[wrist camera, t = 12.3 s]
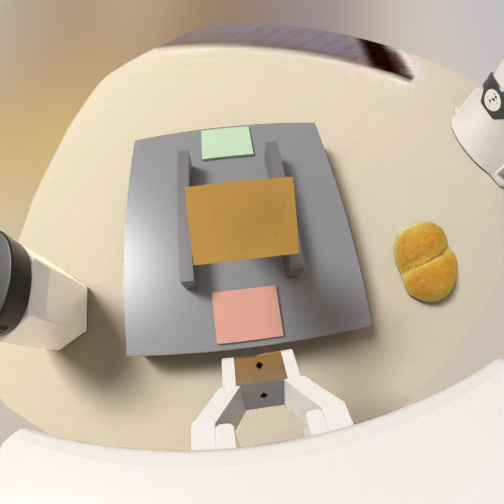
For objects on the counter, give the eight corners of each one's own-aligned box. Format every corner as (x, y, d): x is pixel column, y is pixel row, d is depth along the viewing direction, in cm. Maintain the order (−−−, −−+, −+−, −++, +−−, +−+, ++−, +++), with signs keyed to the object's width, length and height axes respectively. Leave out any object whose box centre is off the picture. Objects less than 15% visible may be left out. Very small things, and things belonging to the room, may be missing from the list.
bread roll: (411, 314, 26) (432, 308, 22) (380, 239, 29) (397, 223, 25) (457, 287, 27) (478, 278, 23) (429, 221, 30) (446, 206, 26)
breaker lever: (260, 186, 24) (299, 176, 11) (264, 223, 25) (305, 252, 12) (203, 193, 24) (177, 188, 11) (207, 229, 24) (186, 266, 12)
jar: (24, 320, 24) (-50, 295, 13) (52, 260, 26) (-16, 214, 15) (73, 363, 23) (-10, 357, 11) (103, 296, 25) (30, 256, 14)
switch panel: (308, 145, 33) (318, 106, 26) (354, 329, 25) (385, 321, 19) (144, 162, 31) (128, 125, 25) (143, 356, 24) (113, 355, 18)
